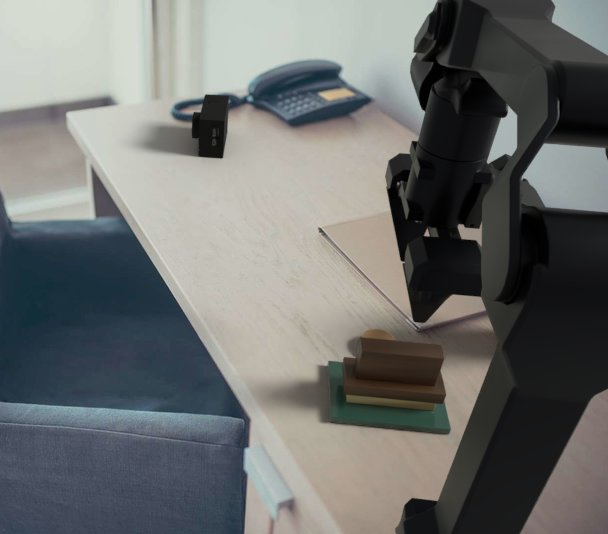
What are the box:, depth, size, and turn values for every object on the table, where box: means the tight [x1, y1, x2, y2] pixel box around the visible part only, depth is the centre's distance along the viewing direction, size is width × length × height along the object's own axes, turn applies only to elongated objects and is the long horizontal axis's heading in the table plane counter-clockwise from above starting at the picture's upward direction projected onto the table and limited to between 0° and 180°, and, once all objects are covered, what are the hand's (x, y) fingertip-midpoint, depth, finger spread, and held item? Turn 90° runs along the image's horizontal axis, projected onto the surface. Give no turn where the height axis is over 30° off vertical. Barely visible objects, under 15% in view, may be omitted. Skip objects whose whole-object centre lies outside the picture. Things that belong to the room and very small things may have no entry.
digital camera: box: [191, 93, 230, 159], centre depth 111 cm, size 10×5×7 cm, turn 174°
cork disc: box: [361, 328, 396, 340], centre depth 74 cm, size 4×4×1 cm
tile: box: [326, 360, 452, 435], centre depth 68 cm, size 8×12×1 cm, turn 84°
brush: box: [342, 336, 447, 411], centre depth 66 cm, size 4×10×7 cm, turn 84°
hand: (411, 289), depth 63 cm, fingers open, 9 cm apart
